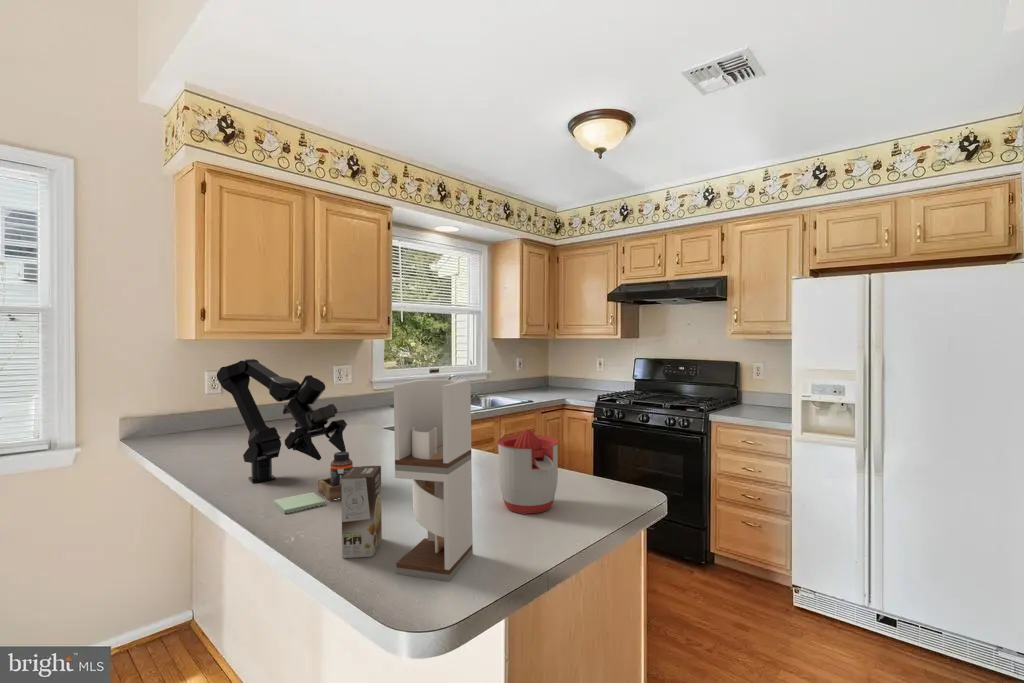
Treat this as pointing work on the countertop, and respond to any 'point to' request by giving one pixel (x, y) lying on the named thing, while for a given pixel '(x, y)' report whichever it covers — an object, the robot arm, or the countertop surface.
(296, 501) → the sage rubber mat
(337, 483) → the supplement bottle
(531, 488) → the citrus juicer
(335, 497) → the walnut collar
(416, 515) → the white tiered shelf stand
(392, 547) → the countertop surface
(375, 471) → the coffee box
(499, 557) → the countertop surface
